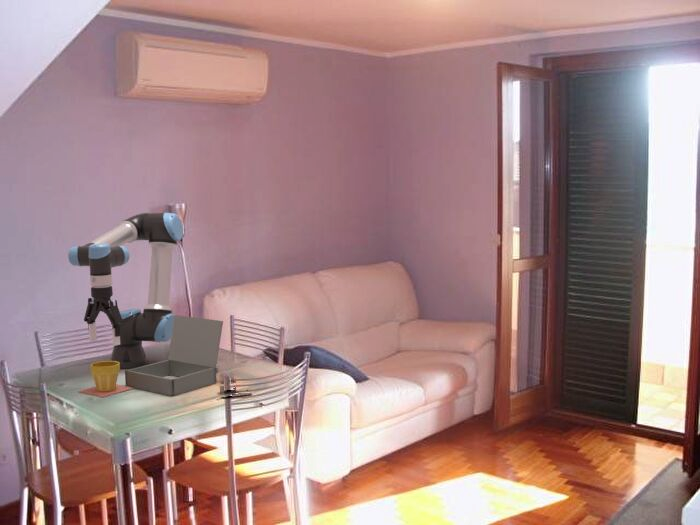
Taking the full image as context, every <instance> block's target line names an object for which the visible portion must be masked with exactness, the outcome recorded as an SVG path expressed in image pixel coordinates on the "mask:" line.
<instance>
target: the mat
mask: <svg viewBox="0 0 700 525" xmlns="http://www.w3.org/2000/svg"><path fill="white" fill-rule="evenodd" d="M134 389H135V388H132V387H127V386H126V385H122V384H117V383H116V388H115V389H114V390H112V391H106V392H101V391H97V389H96V386H93V387H88V388H86V389H85V388H84V389H81V390H78V393H81V394H86V395H90V396H95V397H99V398H102V399H103V398H105V397H109V396H115V395H117V394H121V393H124V392H128V391H132V390H134Z"/></svg>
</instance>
